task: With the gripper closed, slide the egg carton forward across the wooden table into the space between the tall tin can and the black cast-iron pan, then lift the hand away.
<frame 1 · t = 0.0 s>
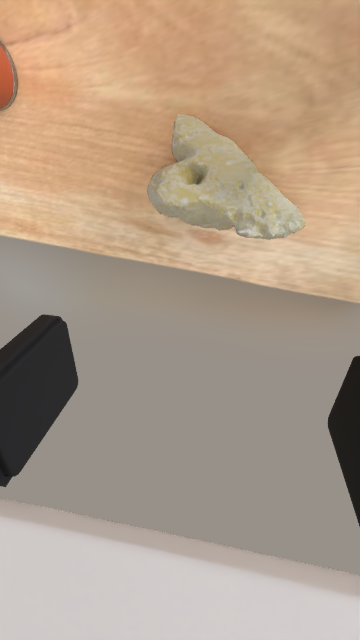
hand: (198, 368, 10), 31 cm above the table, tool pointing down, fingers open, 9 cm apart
holed limestone rock: (231, 181, 35), on the table
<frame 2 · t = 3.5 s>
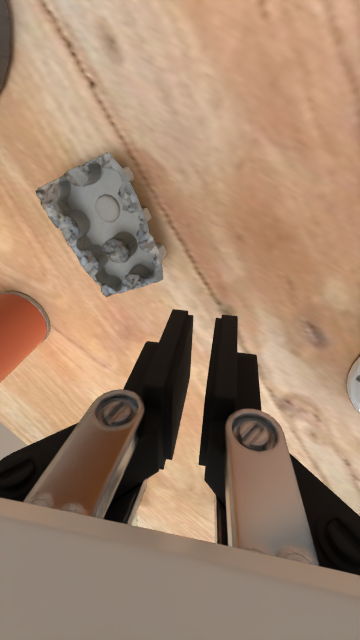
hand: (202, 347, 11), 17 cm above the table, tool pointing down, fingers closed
tin can: (21, 318, 34), on the table
egg carton: (119, 225, 27), on the table
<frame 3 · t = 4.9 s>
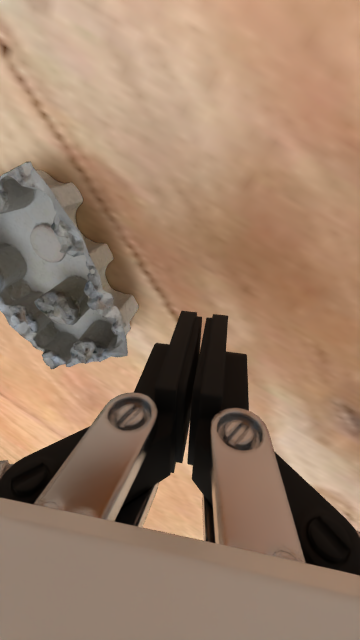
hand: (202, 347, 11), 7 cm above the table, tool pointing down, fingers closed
egg carton: (69, 266, 18), on the table
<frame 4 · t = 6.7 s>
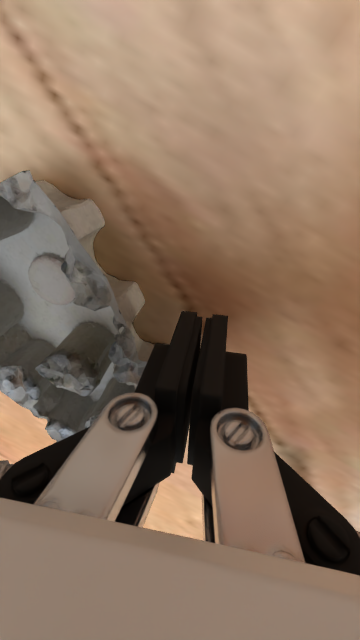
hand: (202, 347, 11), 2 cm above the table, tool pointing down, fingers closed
egg carton: (82, 308, 13), on the table, touching gripper
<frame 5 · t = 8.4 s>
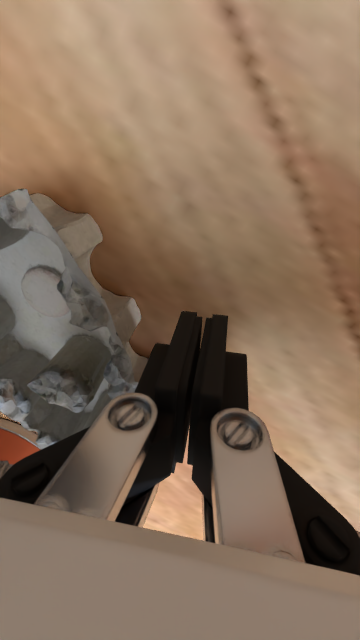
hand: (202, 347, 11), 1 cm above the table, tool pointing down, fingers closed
tin can: (11, 453, 19), on the table
egg carton: (76, 320, 13), on the table, touching gripper
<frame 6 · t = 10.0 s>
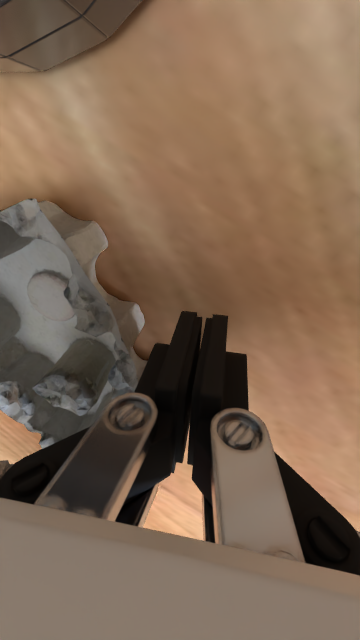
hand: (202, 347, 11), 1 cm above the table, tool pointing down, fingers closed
egg carton: (80, 324, 13), on the table, touching gripper
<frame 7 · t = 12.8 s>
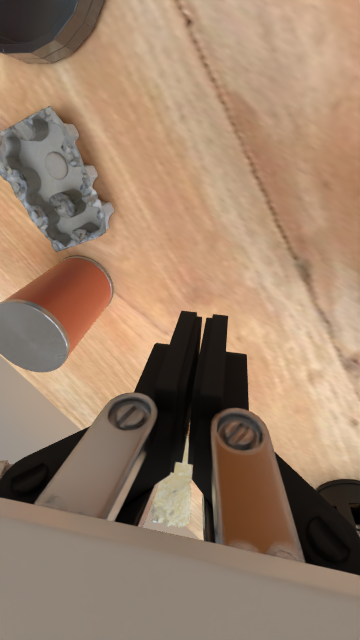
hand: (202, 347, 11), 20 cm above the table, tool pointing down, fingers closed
holed limestone rock: (176, 449, 47), on the table
tin can: (84, 285, 34), on the table
egg carton: (69, 183, 28), on the table
french press: (341, 495, 47), on the table
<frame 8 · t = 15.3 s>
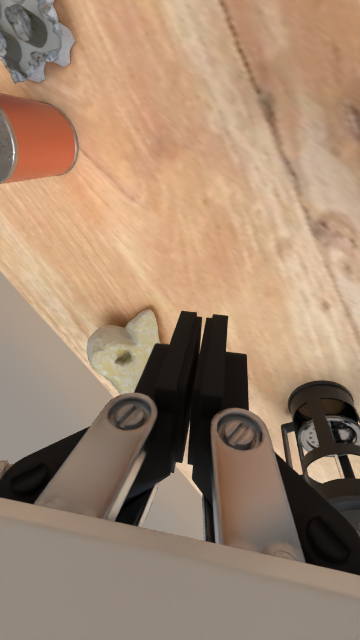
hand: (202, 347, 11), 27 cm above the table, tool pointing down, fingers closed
holed limestone rock: (148, 351, 47), on the table
tin can: (49, 141, 33), on the table
egg carton: (29, 9, 28), on the table
french press: (315, 403, 46), on the table
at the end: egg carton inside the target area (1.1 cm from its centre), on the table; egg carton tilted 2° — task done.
